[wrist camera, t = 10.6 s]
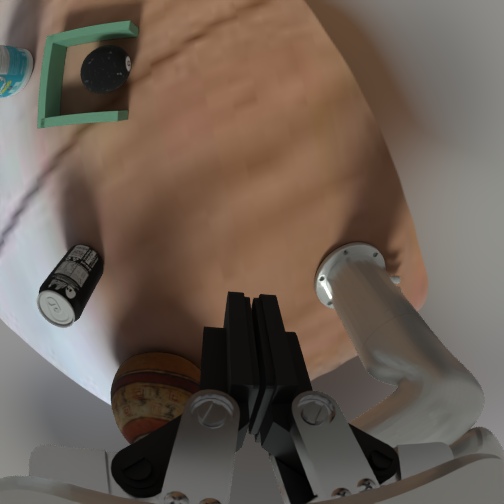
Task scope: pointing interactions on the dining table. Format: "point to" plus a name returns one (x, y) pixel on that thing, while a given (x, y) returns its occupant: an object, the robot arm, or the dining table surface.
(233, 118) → the dining table surface
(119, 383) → the ceramic pitcher
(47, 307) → the beverage can
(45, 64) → the pocket
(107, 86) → the billiard ball
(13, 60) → the pill bottle
